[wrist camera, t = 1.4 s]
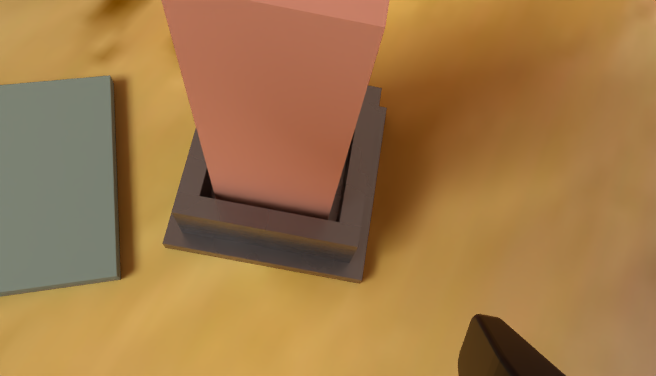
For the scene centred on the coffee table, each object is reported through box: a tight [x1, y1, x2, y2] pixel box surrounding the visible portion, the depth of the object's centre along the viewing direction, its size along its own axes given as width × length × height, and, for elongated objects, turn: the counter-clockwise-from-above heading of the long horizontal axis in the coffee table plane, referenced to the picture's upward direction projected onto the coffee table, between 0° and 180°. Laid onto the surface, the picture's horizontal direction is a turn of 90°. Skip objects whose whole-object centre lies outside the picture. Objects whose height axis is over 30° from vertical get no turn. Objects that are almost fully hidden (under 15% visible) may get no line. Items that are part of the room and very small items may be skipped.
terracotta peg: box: [162, 0, 389, 220], centre depth 17 cm, size 4×4×13 cm
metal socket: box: [163, 86, 387, 283], centre depth 22 cm, size 8×8×3 cm
